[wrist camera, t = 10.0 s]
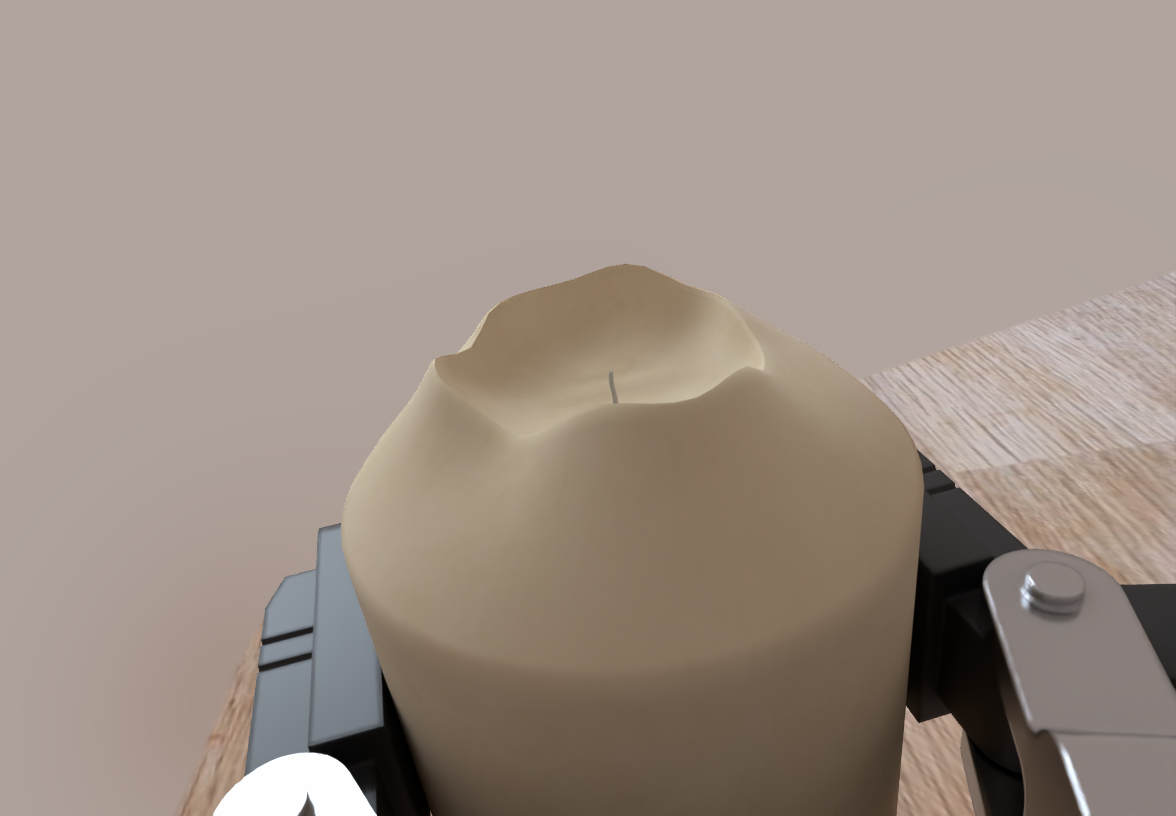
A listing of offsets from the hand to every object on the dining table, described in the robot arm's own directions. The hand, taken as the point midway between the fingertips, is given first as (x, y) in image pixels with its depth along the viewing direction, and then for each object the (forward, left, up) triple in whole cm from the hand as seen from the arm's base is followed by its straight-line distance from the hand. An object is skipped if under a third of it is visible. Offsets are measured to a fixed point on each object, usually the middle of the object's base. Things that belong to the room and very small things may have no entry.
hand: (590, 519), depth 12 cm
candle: (+1, -2, -6) cm, 7 cm away
